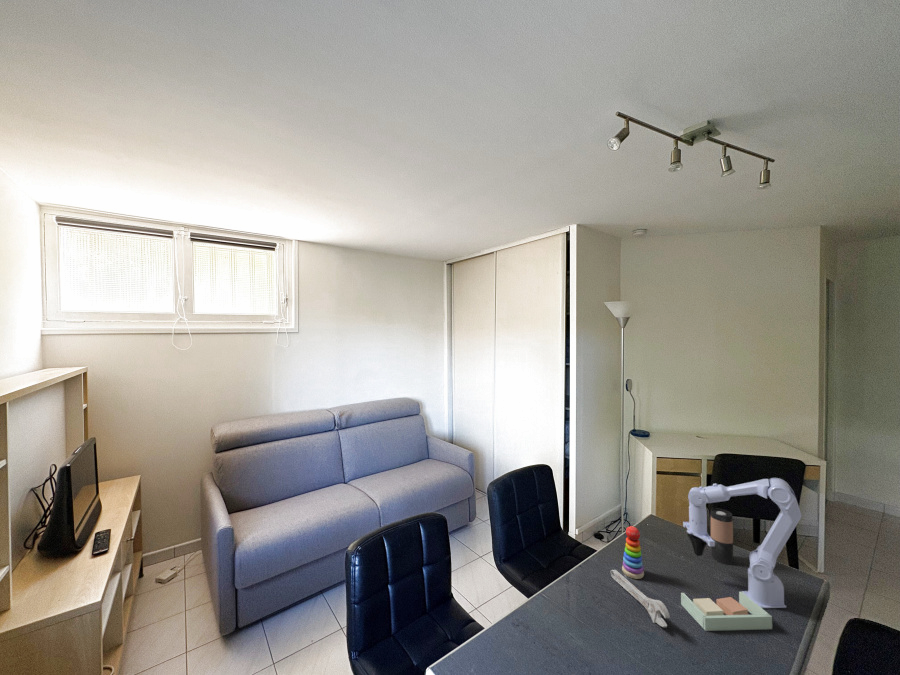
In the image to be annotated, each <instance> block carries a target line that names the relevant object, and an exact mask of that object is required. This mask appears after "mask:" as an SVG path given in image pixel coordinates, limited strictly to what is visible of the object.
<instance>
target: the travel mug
mask: <svg viewBox="0 0 900 675" xmlns="http://www.w3.org/2000/svg"><path fill="white" fill-rule="evenodd" d="M733 519H734V518H733V513H732V512H731V511H730V510H729V511H728V510H726V509H724V508H723V509H722V508H717V507H713V508H711V509H710V537H711V538H712V540H714V541H715V546H713V547H711V550H710V551H711V557H713V558H712V559H713V560H714V559H715V560H714V561H716V560H717V561H716V562H718V563H720V562H721V563H720V564H725V565H732V564H733V562H734V525H733V524H734V523H733Z"/></svg>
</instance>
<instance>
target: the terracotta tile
mask: <svg viewBox="0 0 900 675" xmlns="http://www.w3.org/2000/svg"><path fill="white" fill-rule="evenodd" d="M715 601H716V603H715V604H716V605H718V606H719V607H720V608H721V609H722V610H723V611H724V615H749V611H748V609H747V608H745V607H744V606H742V605H741V604H740V603H739V601H737V600H736V599H734V598H733V597H732V596H727V597H722V598H716V600H715Z"/></svg>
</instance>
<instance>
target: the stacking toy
mask: <svg viewBox="0 0 900 675" xmlns="http://www.w3.org/2000/svg"><path fill="white" fill-rule="evenodd" d="M625 534H626V538H625V547H624V552H623V557H622V558H623V559H622V560H623V561H622V566H621V570H622V573H623V574H624V575H626V576H627V577H629V578H631V579H633V580H634V579H635V580H639V579H643V578H644V576H645V571H644V570H645V569H644V566H643V561H642V560H643V557H642V551H641V549H642V546H641V542H640V540H639V539H640V537H641V533H640V531H639V529H638V528H637V527H636V526H633V525H631V526H628V527H626V529H625Z"/></svg>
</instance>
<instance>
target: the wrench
mask: <svg viewBox="0 0 900 675" xmlns="http://www.w3.org/2000/svg"><path fill="white" fill-rule="evenodd" d="M610 576H611V577H612V579H613V580H615V581H616V583H618V584H619V585H620V586H621V587H623V589H624V590H626V592H628V593H629V594H630V595H631V596H632V597H633V598H634V599H635V600H637V602H639V603H640V604H641V605H642V606H643V608H645V610H646V611H647V613H648V614H649V616H650V618H651V621H652V623H653V624H657V625H658V626H660V627H662V628H667V626H668V624H667V622H666V621H665V620H664V619H670V617H671V616H670V612H669V610H668V609H667V606H666V605H665V603H663V602H662V601H661V600H660V599H653V598H650V597H648V596H647V595H645V594H644V593H643V591H640V590H639V589H638V588H637V586H635V585H634V584H633V583H631V582H630V581H629V580H628V579H627V578H626V577H625V576H623V575H622V574H621V573H620V572H619V571H618V570H617V569H611V570H610ZM662 616H663V617H662Z"/></svg>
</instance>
